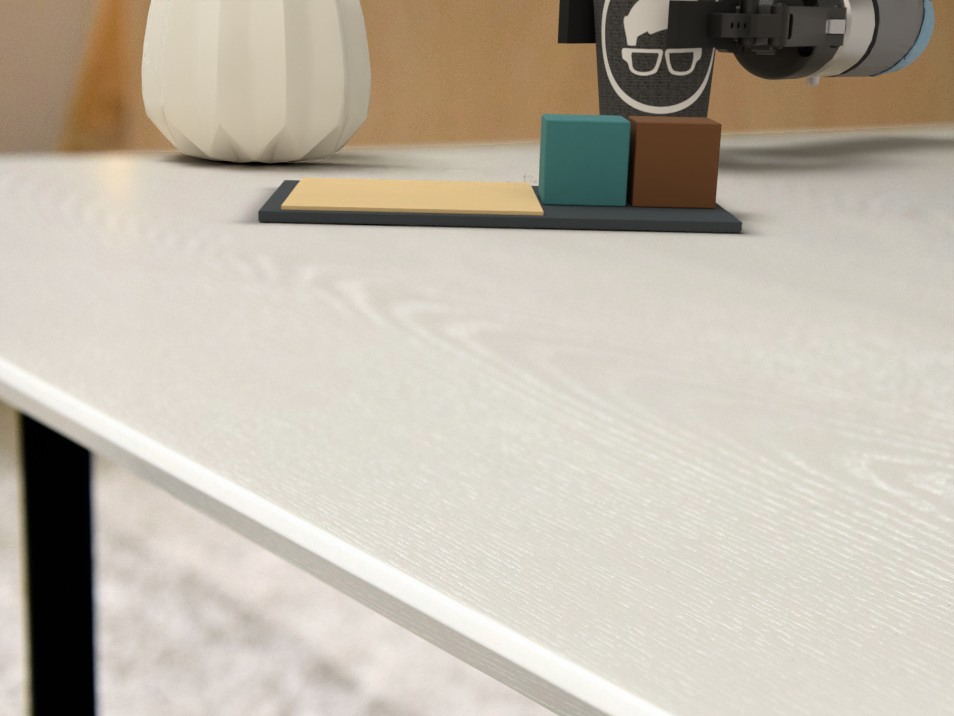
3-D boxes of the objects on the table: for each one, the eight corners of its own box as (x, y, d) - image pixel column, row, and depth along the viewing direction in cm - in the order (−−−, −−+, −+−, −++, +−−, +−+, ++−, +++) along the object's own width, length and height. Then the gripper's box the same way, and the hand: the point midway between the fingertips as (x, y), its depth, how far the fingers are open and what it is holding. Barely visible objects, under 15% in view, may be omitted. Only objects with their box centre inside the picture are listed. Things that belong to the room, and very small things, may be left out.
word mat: (698, 198, 86) (704, 111, 85) (741, 232, 74) (749, 131, 73) (284, 189, 87) (283, 102, 85) (258, 221, 74) (257, 120, 73)
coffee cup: (756, 151, 105) (769, -97, 101) (669, 160, 99) (679, -105, 94) (636, 144, 112) (644, -90, 107) (547, 152, 105) (552, -96, 101)
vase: (289, 176, 93) (288, -75, 89) (100, 159, 99) (91, -75, 95) (411, 158, 104) (415, -65, 100) (234, 145, 111) (231, -65, 106)
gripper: (927, 85, 111) (758, 94, 94) (673, 72, 123) (484, 78, 107) (940, -32, 108) (770, -43, 92) (680, -33, 121) (488, -44, 104)
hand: (617, 22), depth 99 cm, fingers closed on coffee cup, 7 cm apart
